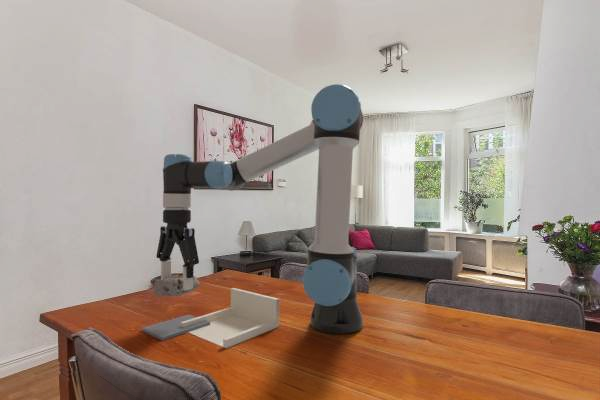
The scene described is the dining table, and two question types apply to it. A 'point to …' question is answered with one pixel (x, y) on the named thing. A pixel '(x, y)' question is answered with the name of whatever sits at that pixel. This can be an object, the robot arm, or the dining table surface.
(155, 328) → the slate pad
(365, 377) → the dining table surface
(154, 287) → the stone
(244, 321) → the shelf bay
